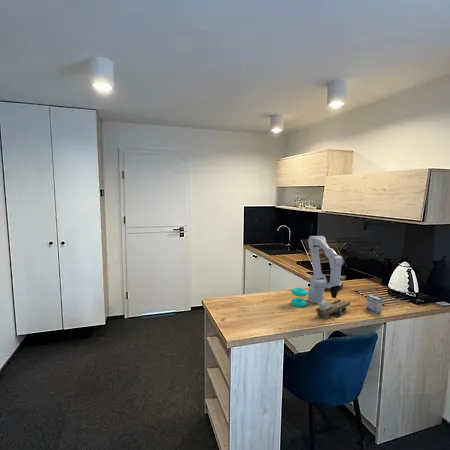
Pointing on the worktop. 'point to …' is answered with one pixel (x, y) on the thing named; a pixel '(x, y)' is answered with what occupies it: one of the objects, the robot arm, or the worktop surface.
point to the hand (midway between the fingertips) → (333, 297)
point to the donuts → (299, 301)
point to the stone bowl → (329, 278)
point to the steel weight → (325, 306)
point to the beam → (333, 308)
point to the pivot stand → (338, 312)
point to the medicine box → (374, 303)
